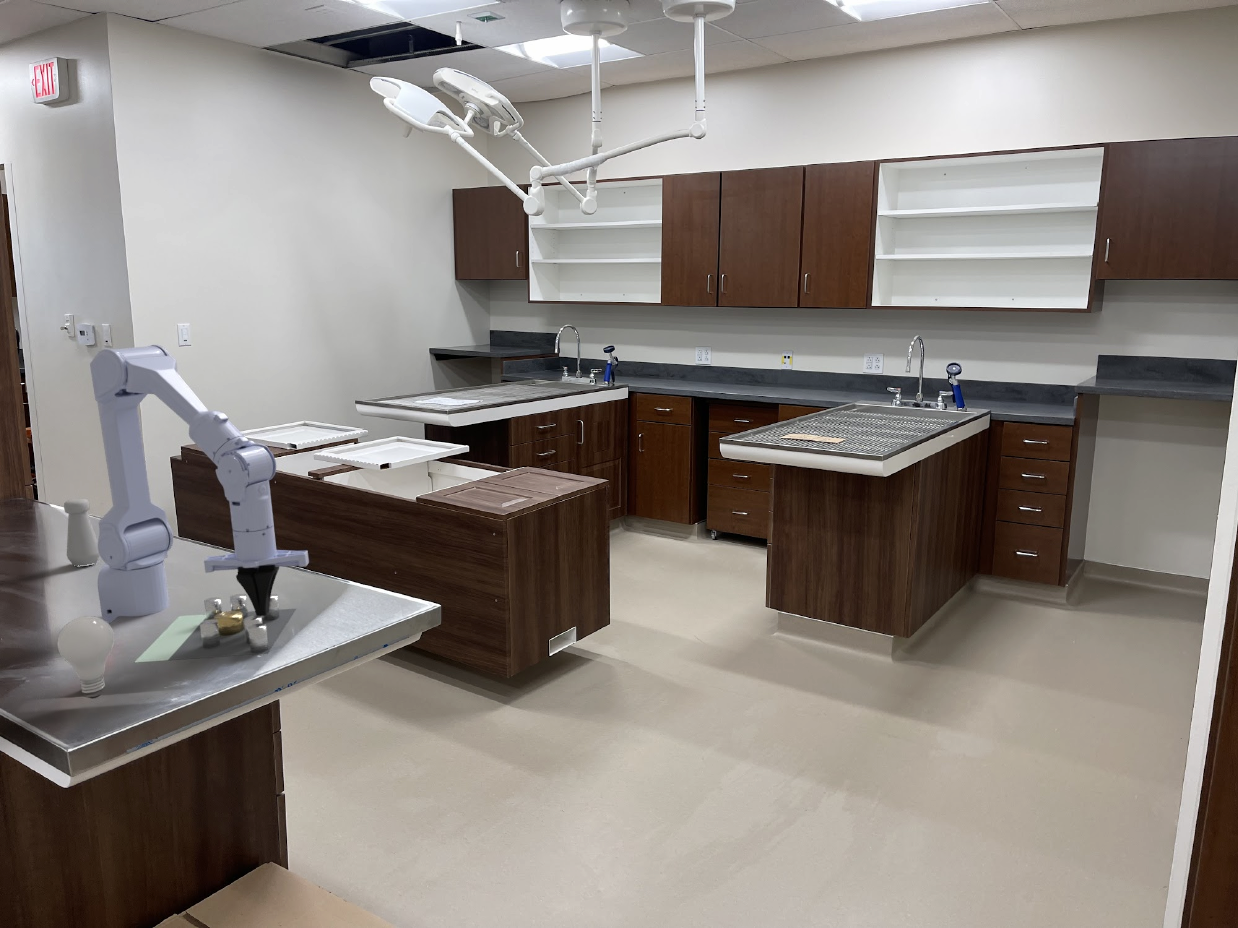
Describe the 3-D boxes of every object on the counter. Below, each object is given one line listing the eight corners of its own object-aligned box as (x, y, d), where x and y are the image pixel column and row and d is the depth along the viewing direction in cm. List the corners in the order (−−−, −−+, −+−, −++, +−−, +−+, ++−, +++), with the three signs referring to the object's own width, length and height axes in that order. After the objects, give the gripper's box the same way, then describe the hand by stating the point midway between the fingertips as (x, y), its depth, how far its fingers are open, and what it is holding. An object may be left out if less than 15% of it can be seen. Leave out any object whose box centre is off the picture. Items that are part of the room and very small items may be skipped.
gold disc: (211, 636, 135) (209, 621, 134) (220, 626, 138) (218, 611, 138) (239, 634, 135) (237, 619, 134) (247, 624, 139) (245, 610, 138)
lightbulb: (81, 687, 121) (69, 610, 119) (130, 685, 121) (119, 607, 119) (56, 709, 115) (43, 628, 112) (108, 706, 115) (96, 625, 113)
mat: (135, 670, 126) (134, 662, 126) (180, 623, 144) (179, 616, 143) (268, 660, 128) (267, 652, 128) (297, 615, 146) (296, 608, 145)
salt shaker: (108, 562, 177) (99, 498, 174) (78, 570, 172) (68, 504, 170) (92, 558, 180) (83, 495, 177) (62, 566, 175) (52, 501, 173)
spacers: (174, 658, 127) (171, 635, 126) (211, 616, 143) (209, 595, 142) (266, 652, 128) (263, 629, 127) (292, 611, 144) (290, 590, 143)
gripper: (193, 537, 129) (204, 626, 132) (297, 531, 131) (306, 619, 134) (208, 524, 136) (219, 609, 139) (307, 518, 138) (316, 603, 141)
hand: (262, 613), depth 137 cm, fingers closed
